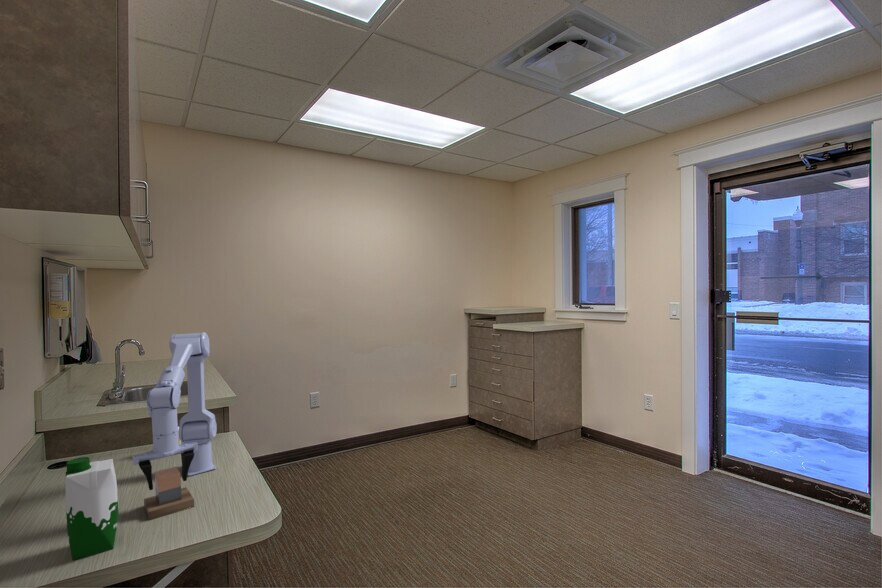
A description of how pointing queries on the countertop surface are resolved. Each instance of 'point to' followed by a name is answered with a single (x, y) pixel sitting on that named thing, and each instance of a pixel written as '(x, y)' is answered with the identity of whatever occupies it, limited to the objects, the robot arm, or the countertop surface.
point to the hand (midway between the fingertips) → (168, 484)
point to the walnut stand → (168, 505)
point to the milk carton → (91, 506)
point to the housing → (168, 486)
